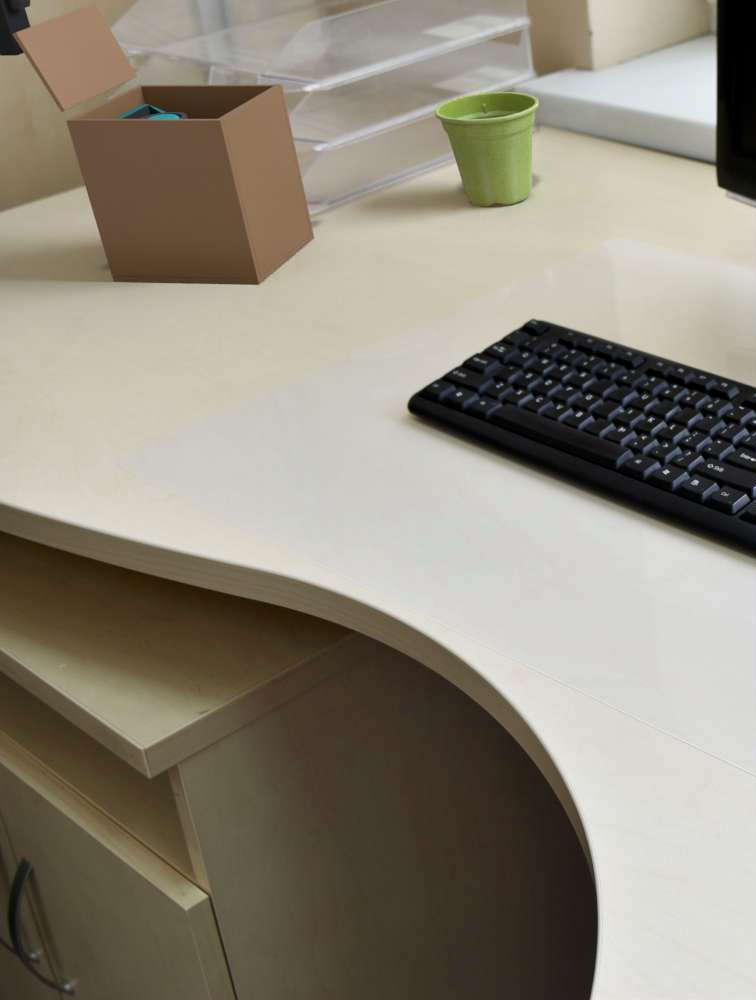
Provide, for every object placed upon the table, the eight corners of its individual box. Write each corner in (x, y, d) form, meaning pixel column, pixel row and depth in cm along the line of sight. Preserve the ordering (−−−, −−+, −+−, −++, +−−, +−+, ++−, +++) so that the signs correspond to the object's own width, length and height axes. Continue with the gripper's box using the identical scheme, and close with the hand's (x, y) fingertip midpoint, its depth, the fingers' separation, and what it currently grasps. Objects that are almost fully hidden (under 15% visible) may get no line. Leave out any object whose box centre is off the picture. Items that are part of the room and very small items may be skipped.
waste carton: (113, 282, 115) (65, 120, 108) (178, 236, 124) (138, 84, 117) (259, 284, 113) (220, 120, 106) (314, 237, 122) (282, 84, 115)
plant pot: (496, 220, 124) (482, 124, 120) (428, 202, 129) (413, 109, 125) (569, 192, 130) (559, 100, 126) (502, 175, 136) (490, 86, 131)
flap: (65, 110, 107) (61, 112, 108) (138, 76, 117) (134, 77, 117) (15, 32, 105) (12, 34, 105) (94, 3, 114) (90, 4, 114)
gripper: (-203, -278, 97) (-85, 63, 109) (-36, -287, 95) (66, 62, 107) (-130, -281, 103) (-26, 42, 115) (28, -289, 101) (117, 40, 114)
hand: (18, 51), depth 111 cm, fingers closed
